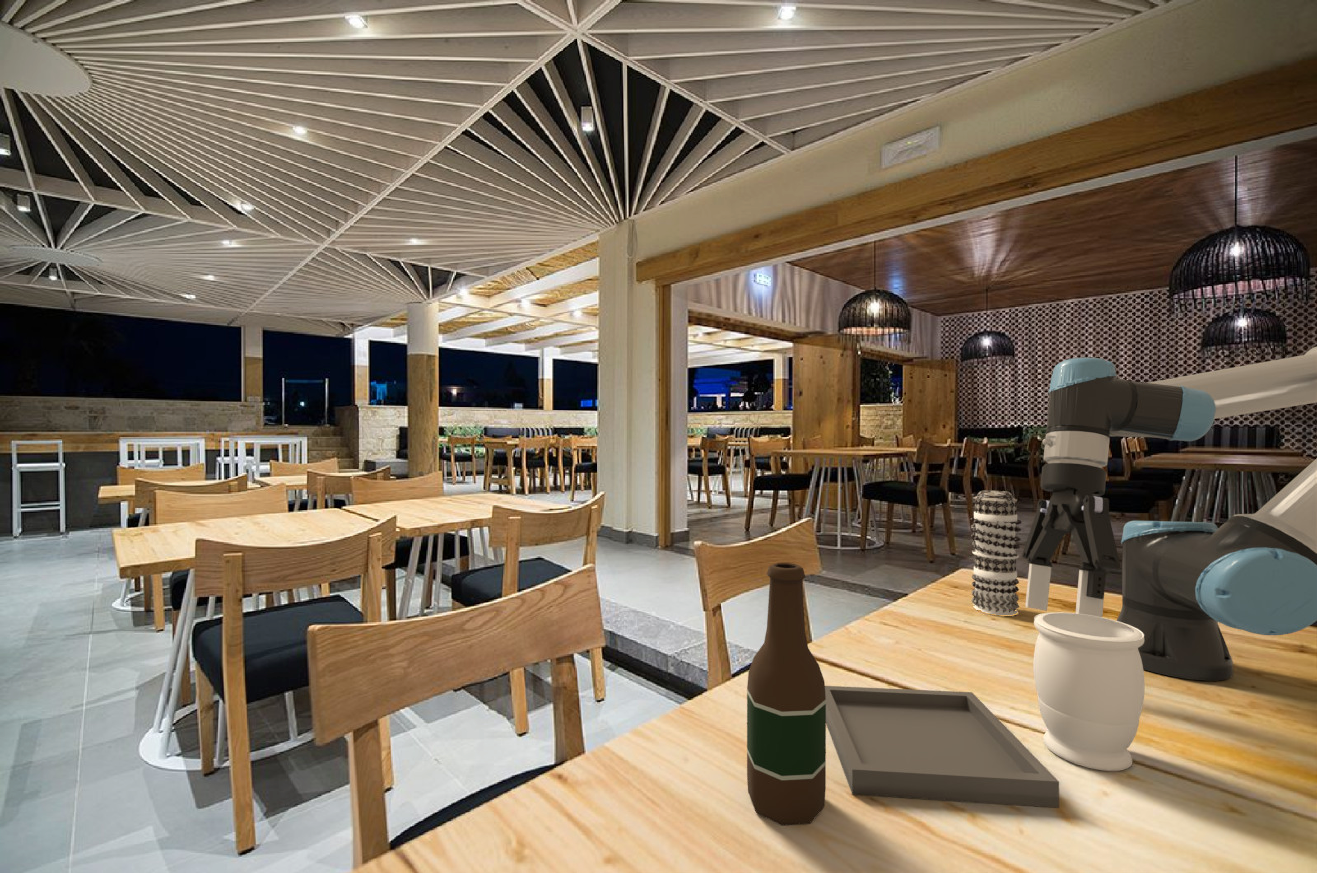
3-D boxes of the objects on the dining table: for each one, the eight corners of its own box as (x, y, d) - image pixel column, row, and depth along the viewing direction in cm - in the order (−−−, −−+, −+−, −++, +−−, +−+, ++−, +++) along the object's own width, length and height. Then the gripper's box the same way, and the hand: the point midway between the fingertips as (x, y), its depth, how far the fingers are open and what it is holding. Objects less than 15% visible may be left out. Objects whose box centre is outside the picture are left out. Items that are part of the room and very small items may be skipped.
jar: (1107, 788, 61) (1108, 646, 61) (1013, 740, 70) (1013, 617, 70) (1164, 765, 65) (1165, 632, 65) (1068, 723, 75) (1069, 606, 75)
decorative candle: (1020, 620, 116) (1021, 494, 115) (967, 612, 121) (968, 492, 121) (1021, 608, 123) (1022, 491, 123) (972, 601, 128) (972, 488, 128)
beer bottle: (779, 839, 53) (780, 578, 53) (731, 792, 60) (731, 561, 60) (842, 813, 57) (843, 569, 57) (790, 772, 64) (790, 554, 64)
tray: (971, 711, 78) (971, 692, 78) (1058, 807, 58) (1058, 781, 58) (819, 704, 80) (819, 685, 80) (852, 794, 60) (852, 769, 60)
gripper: (1007, 469, 96) (993, 599, 94) (1096, 450, 72) (1080, 624, 69) (1056, 477, 95) (1044, 608, 92) (1164, 460, 71) (1151, 638, 68)
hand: (1059, 616), depth 81 cm, fingers open, 13 cm apart
